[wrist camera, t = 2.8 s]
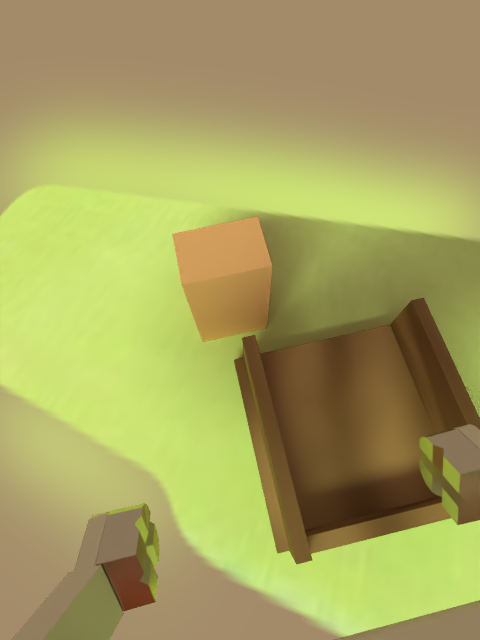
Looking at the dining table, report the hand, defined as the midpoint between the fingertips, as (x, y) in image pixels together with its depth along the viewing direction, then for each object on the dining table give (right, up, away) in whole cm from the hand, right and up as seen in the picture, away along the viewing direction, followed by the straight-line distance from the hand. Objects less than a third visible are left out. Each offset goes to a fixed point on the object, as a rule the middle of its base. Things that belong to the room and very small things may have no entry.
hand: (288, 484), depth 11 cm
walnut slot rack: (+6, -3, +15) cm, 16 cm away
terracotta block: (-2, +5, +18) cm, 19 cm away
